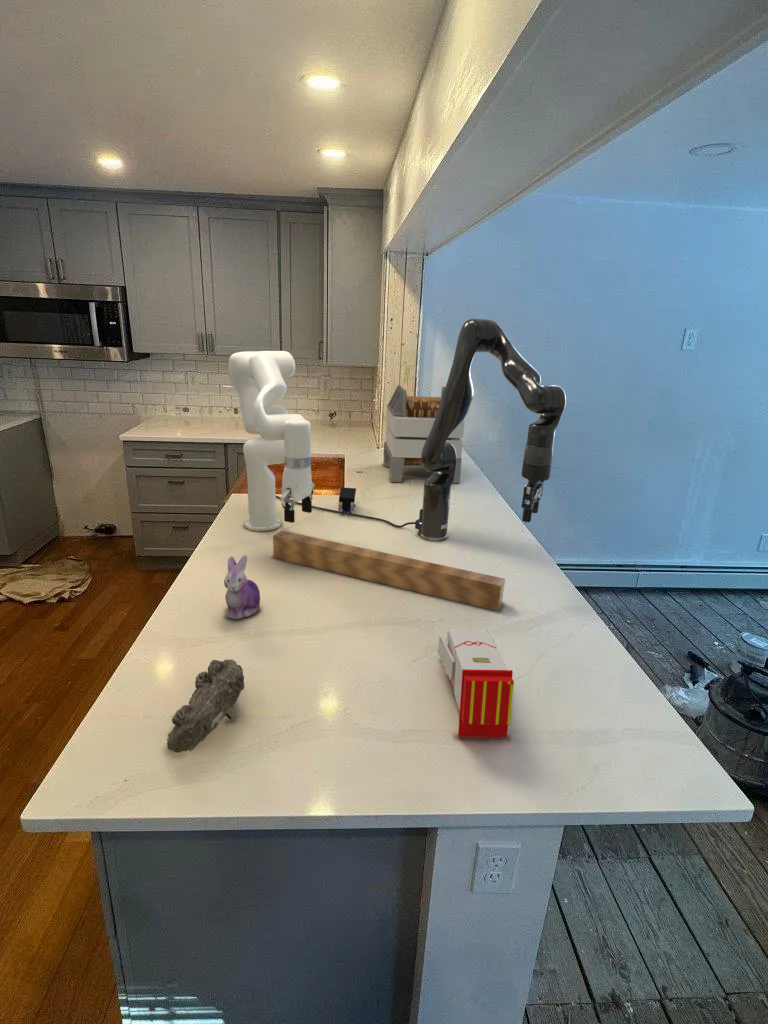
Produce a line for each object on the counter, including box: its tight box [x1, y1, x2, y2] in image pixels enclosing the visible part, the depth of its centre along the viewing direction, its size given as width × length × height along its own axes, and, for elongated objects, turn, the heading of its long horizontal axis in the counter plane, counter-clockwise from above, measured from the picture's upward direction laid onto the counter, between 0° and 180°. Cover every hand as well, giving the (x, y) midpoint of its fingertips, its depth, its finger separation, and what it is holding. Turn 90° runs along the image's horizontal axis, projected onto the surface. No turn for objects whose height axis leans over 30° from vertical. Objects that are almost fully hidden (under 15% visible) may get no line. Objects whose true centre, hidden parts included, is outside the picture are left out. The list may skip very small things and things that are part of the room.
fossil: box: [166, 658, 245, 754], centre depth 106 cm, size 22×10×15 cm
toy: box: [437, 628, 515, 738], centre depth 117 cm, size 12×13×30 cm
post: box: [272, 530, 506, 612], centre depth 165 cm, size 71×5×8 cm, turn 67°
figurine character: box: [337, 486, 357, 516], centre depth 219 cm, size 7×8×15 cm
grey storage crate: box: [383, 384, 465, 484], centre depth 268 cm, size 34×33×41 cm
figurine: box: [223, 554, 261, 620], centre depth 143 cm, size 9×10×15 cm
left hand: (298, 516), depth 171 cm, fingers open, 9 cm apart
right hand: (529, 517), depth 159 cm, fingers open, 8 cm apart
